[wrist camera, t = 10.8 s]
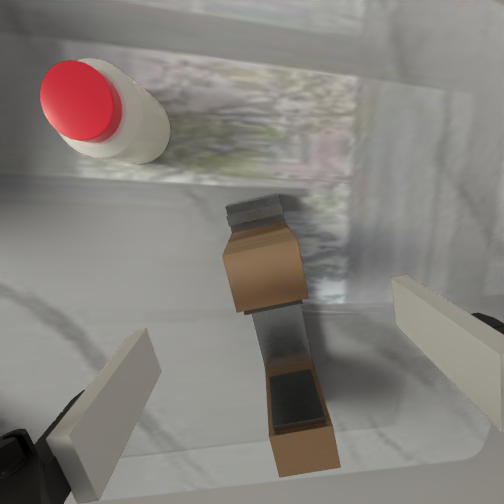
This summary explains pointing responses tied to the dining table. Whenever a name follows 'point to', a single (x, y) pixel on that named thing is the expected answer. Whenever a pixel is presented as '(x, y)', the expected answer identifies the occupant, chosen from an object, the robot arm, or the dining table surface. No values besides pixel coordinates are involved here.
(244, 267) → the brown wooden block
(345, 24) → the dining table surface
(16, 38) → the dining table surface
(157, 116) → the pill bottle
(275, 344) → the rail
